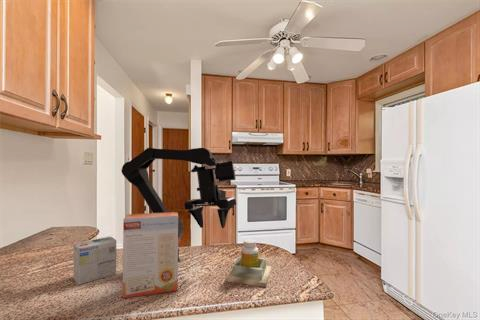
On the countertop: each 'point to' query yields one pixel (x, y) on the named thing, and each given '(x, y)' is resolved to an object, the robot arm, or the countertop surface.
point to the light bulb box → (94, 259)
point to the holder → (250, 273)
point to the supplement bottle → (249, 254)
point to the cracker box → (150, 253)
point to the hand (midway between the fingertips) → (212, 227)
